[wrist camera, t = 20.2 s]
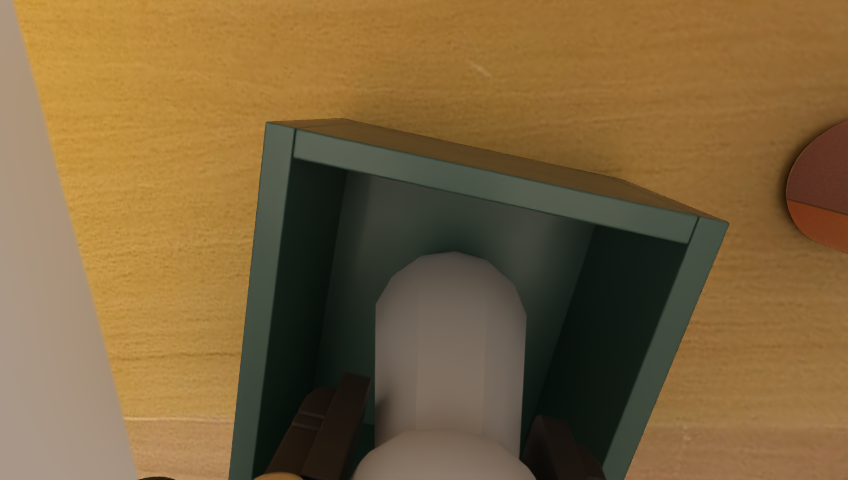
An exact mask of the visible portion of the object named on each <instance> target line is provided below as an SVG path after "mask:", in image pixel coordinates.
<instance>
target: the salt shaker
mask: <svg viewBox="0 0 848 480" xmlns="http://www.w3.org/2000/svg"><path fill="white" fill-rule="evenodd" d="M526 319H527V315H526V313H525V310H524V308H523V305H522V303H521V300H520V298H519V295H518V293H517V290H516V288H515V286H514V284H513V283H512V282H511V281H510V280H509V279H508V278H507V277H506V276H504V275H503V274H502V273H501V272H500V271H499V270H498V269H497V268H496V267H494V266H493V265H492V264H491V263H490V262H489V261H488V260H486V259H482V258H479V257H475V256H471V255H468V254H464V253H460V252H457V251H451V252H443V253H435V254H428V255H421V256H420V257H418V258H417V259H416V260H414V261H413V262H411V263H410V264H408V265H407V266H406V267H404V268H403V269H401V270H400V271H399V272H397V273H396V274H395V275H393V276H392V277H391V279H390V281H389V283H388V284H387V286H386V288H385V289H384V291H383V293H382V294H381V296H380V298H379V299H378V301H377V303H376V326H375V449H374V450H372V451H370V452H369V453H368V454H367V455H366V456H365V457H364V458H363V459H362V460H361V462H360V463H359V465H358V466H357V468H356V470H355V471H354V473H353V474H352V476H351V477H350V479H349V480H536V479H535V477H534V475H533V474H532V473H531V471H530V470H529V468H528V467H527V466H526V465H525V464H523V463H522V462H521V461H520V460H519V453H520V434H521V415H522V395H523V376H524V357H525V338H526Z"/></svg>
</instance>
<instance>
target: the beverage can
mask: <svg viewBox="0 0 848 480" xmlns="http://www.w3.org/2000/svg"><path fill="white" fill-rule="evenodd" d="M786 200H787V205H788V209H789V212H790V215H791V217H792V219H793V221H794V223H795V224H796V226H797V227H798V228H799V230H800V231H801V232H802V233H803V234H805V235H806V236H807V237H808V238H810V239H812V240H813V241H815V242H817V243H820V244H822V245H825V246H828V247H831V248H833V249H836V250H839V251H842V252H844V253H847V254H848V120H846V121H844V122H842V123H839V124H837V125H835V126H834V127H832V128H830V129H829V130H827V131H825V132H824V133H823V134H821V135H820V136H818V137H817V138H816V139H815V140H813V141H812V142H811V143H810V144H809V145H808V146H807V147H806V148H805V149H804V150H803V151H802V153H801V154H800V155H799V157H798V158H797V159H796V161H795V163H794V165H793V167H792V169H791V171H790V174H789V176H788V180H787V185H786Z"/></svg>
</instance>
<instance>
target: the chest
mask: <svg viewBox="0 0 848 480" xmlns="http://www.w3.org/2000/svg"><path fill="white" fill-rule="evenodd" d="M728 226H729V223H728V222H727V221H724V220H722V219H719V218H717V217H714V216H712V215H709V214H707V213H704V212H702V211H699V210H697V209H694V208H692V207H689V206H687V205H684V204H682V203H679V202H677V201H675V200H672V199H670V198H667V197H665V196H662V195H660V194H657V193H655V192H652V191H650V190H647V189H645V188H642V187H640V186H637V185H635V184H632V183H630V182H627V181H625V180H622V179H618V178H614V177H609V176H604V175H600V174H595V173H591V172H586V171H581V170H577V169H572V168H568V167H563V166H558V165H554V164H549V163H545V162H540V161H536V160H531V159H526V158H522V157H517V156H513V155H508V154H503V153H499V152H494V151H490V150H485V149H480V148H476V147H471V146H467V145H462V144H457V143H453V142H448V141H444V140H439V139H434V138H430V137H425V136H421V135H416V134H411V133H407V132H402V131H398V130H393V129H388V128H384V127H379V126H375V125H370V124H365V123H361V122H356V121H352V120H347V119H343V118H341V119H316V120H294V121H272V122H266V126H265V136H264V145H263V155H262V165H261V174H260V184H259V193H258V203H257V212H256V222H255V231H254V241H253V250H252V260H251V269H250V279H249V289H248V298H247V308H246V317H245V327H244V336H243V346H242V355H241V365H240V374H239V384H238V393H237V403H236V413H235V422H234V432H233V441H232V451H231V460H230V470H229V479H228V480H254V479H255V478H257V477H259V476H261V475H264V473H265V472H266V470H267V468H268V466H269V464H270V462H271V460H272V458H273V457H274V455H275V453H276V451H277V449H278V447H279V445H280V444H281V442H282V440H283V438H284V436H285V434H286V432H287V430H288V429H289V427H290V426H291V424H292V421H293V419H294V417H295V416H296V414H297V413H298V410H299V408H300V406H301V404H302V402H303V401H304V399H305V397H306V396H307V395H308V394H310V393H311V392H312V391H314V390H315V389H317V388H318V387H319V386H323V387H328V388H332V389H336V390H337V388H338V386H339V383H340V381H341V379H342V377H343V374H344V372H345V371H348V372H353V373H357V374H362V375H366V376H371V377H372V382H371V388H370V392H369V397H368V402H367V407H366V412H365V417H364V422H363V427H362V432H361V436H360V440H359V444H358V448H357V451H356V455H355V458H354V461H353V465H352V468H351V471H350V475H349V478H348V480H349V479H350V477H351V476H352V474H353V473H354V471H355V470H356V468H357V466H358V465H359V463H360V462H361V460H362V459H363V458H364V457H365V456H366V455H367V454H368V453H369V452H370V451H372V450H374V449H375V326H376V303H377V301H378V299H379V298H380V296H381V294H382V293H383V291H384V289H385V288H386V286H387V284H388V283H389V281H390V279H391V277H392V276H393V275H395V274H396V273H397V272H399V271H400V270H401V269H403V268H404V267H406V266H407V265H408V264H410V263H411V262H413V261H414V260H416V259H417V258H418V257H420V256H421V255H428V254H435V253H443V252H451V251H457V252H460V253H464V254H468V255H471V256H475V257H479V258H482V259H486V260H488V261H489V262H490V263H491V264H492V265H493V266H494V267H496V268H497V269H498V270H499V271H500V272H501V273H502V274H503V275H504V276H506V277H507V278H508V279H509V280H510V281H511V282H512V283H513V284H514V286H515V288H516V290H517V293H518V295H519V298H520V300H521V303H522V305H523V308H524V310H525V313H526V315H527V319H526V338H525V357H524V376H523V395H522V415H521V434H520V453H519V460H520V461H521V458H522V455H523V452H524V449H525V446H526V443H527V440H528V437H529V434H530V431H531V428H532V425H533V422H534V419H535V417H536V416H537V415H542V416H546V417H551V418H555V419H560V420H564V421H567V422H568V423H569V426H570V429H571V431H572V434H573V437H574V440H575V443H576V444H578V445H583V446H586V447H587V448H588V450H589V451H590V452H591V453H592V454H593V456H594V457H595V458H596V459H597V460H598V462H599V463H600V465H601V467H602V470H603V472H604V475H605V477H606V480H624V478H625V476H626V473H627V471H628V468H629V466H630V464H631V461H632V459H633V456H634V454H635V451H636V449H637V447H638V444H639V442H640V439H641V437H642V435H643V432H644V430H645V427H646V425H647V422H648V420H649V418H650V415H651V413H652V410H653V408H654V405H655V403H656V401H657V398H658V396H659V393H660V391H661V388H662V386H663V384H664V381H665V379H666V376H667V374H668V372H669V369H670V367H671V364H672V362H673V359H674V357H675V355H676V352H677V350H678V347H679V345H680V342H681V340H682V338H683V335H684V333H685V330H686V328H687V326H688V323H689V321H690V318H691V316H692V313H693V311H694V309H695V306H696V304H697V301H698V299H699V296H700V294H701V292H702V289H703V287H704V284H705V282H706V280H707V277H708V275H709V272H710V270H711V267H712V265H713V263H714V260H715V258H716V255H717V253H718V250H719V248H720V246H721V243H722V241H723V238H724V236H725V233H726V231H727V229H728Z"/></svg>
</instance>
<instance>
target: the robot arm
mask: <svg viewBox="0 0 848 480" xmlns="http://www.w3.org/2000/svg"><path fill="white" fill-rule="evenodd" d="M371 382H372V377H371V376H366V375H362V374H357V373H353V372H348V371H345V372H344V374H343V377H342V379H341V381H340V383H339V386H338V388H337V390H336V389H332V388H328V387H323V386H319V387H318V388H317V389H315V390H314V391H312V392H311V393H310V394H308V395H307V396H306V397H305V399H304V401H303V402H302V404H301V406H300V408H299V410H298V413H297V414H296V416H295V417H294V419H293V421H292V424H291V426H290V427H289V429H288V430H287V432H286V434H285V436H284V438H283V440H282V442H281V444H280V445H279V447H278V449H277V451H276V453H275V455H274V457H273V458H272V460H271V462H270V464H269V466H268V468H267V470H266V472H265V473H264V475H261V476H259V477H257V478H255V479H254V480H348V478H349V475H350V471H351V468H352V465H353V461H354V458H355V455H356V451H357V448H358V444H359V440H360V436H361V432H362V427H363V422H364V417H365V412H366V407H367V402H368V397H369V392H370V388H371ZM521 462H522V463H523V464H525V465H526V466H527V467H528V468H529V470H530V471H531V473H532V474H533V475H534V477H535V479H536V480H606V477H605V475H604V472H603V470H602V467H601V465H600V463H599V462H598V460H597V459H596V458H595V457H594V456H593V454H592V453H591V452H590V451H589V450H588V448H587V447H586V446H583V445H578V444H576V443H575V440H574V437H573V434H572V431H571V429H570V426H569V423H568V422H567V421H564V420H560V419H555V418H551V417H546V416H542V415H537V416H536V417H535V419H534V422H533V425H532V428H531V431H530V434H529V437H528V440H527V443H526V446H525V449H524V452H523V455H522V458H521ZM139 480H174V479H171V478H167V477H148V478H143V479H139Z"/></svg>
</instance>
